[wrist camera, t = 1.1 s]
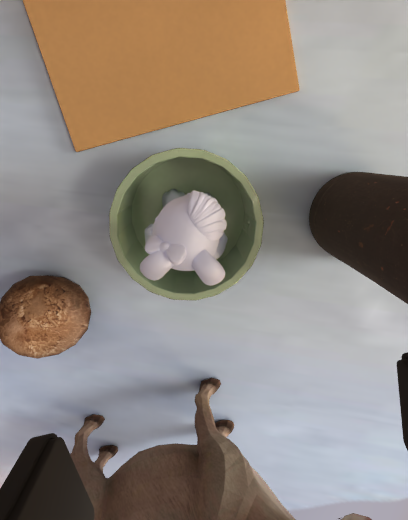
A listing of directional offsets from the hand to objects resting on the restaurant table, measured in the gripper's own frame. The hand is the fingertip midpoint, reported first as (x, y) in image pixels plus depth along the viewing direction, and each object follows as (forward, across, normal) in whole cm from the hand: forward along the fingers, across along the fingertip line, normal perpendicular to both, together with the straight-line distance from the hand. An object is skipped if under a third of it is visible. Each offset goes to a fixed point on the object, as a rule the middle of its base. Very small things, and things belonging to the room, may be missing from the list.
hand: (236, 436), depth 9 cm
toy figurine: (+24, +1, -3) cm, 24 cm away
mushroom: (+24, +16, +2) cm, 29 cm away
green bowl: (+24, +1, -3) cm, 24 cm away
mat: (+24, -1, -17) cm, 29 cm away
